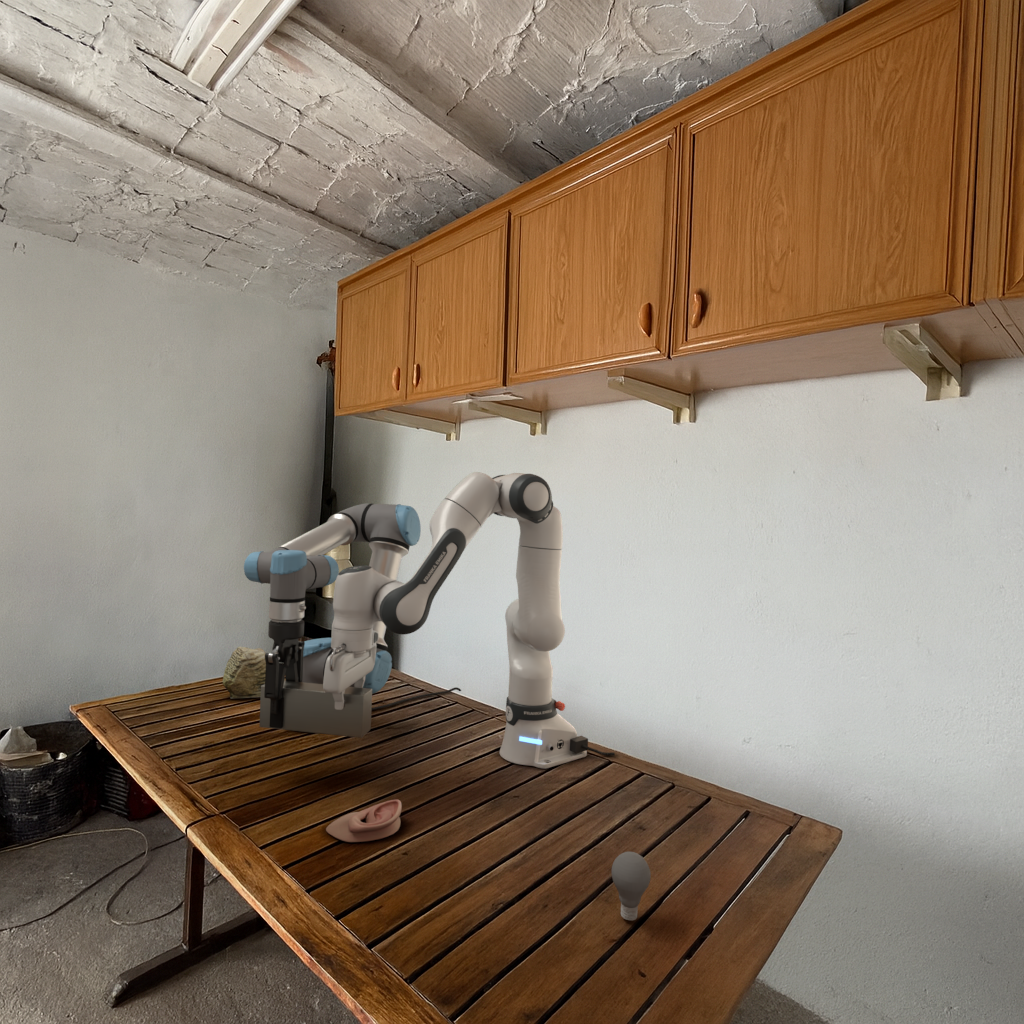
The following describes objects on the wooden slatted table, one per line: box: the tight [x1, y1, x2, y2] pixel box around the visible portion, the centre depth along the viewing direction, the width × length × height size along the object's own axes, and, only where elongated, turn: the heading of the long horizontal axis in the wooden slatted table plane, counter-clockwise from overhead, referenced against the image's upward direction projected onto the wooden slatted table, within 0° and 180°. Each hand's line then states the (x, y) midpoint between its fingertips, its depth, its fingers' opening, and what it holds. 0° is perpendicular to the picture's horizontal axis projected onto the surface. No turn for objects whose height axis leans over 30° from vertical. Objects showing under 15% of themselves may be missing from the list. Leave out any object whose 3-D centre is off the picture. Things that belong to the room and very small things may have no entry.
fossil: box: [222, 646, 286, 699], centre depth 198 cm, size 9×18×15 cm, turn 132°
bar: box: [259, 681, 373, 739], centre depth 141 cm, size 24×5×9 cm, turn 81°
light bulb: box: [611, 851, 652, 921], centre depth 99 cm, size 6×6×10 cm
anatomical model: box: [325, 799, 403, 843], centre depth 122 cm, size 13×4×12 cm
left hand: (282, 722), depth 142 cm, fingers closed on bar, 5 cm apart
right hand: (348, 702), depth 140 cm, fingers open, 8 cm apart
